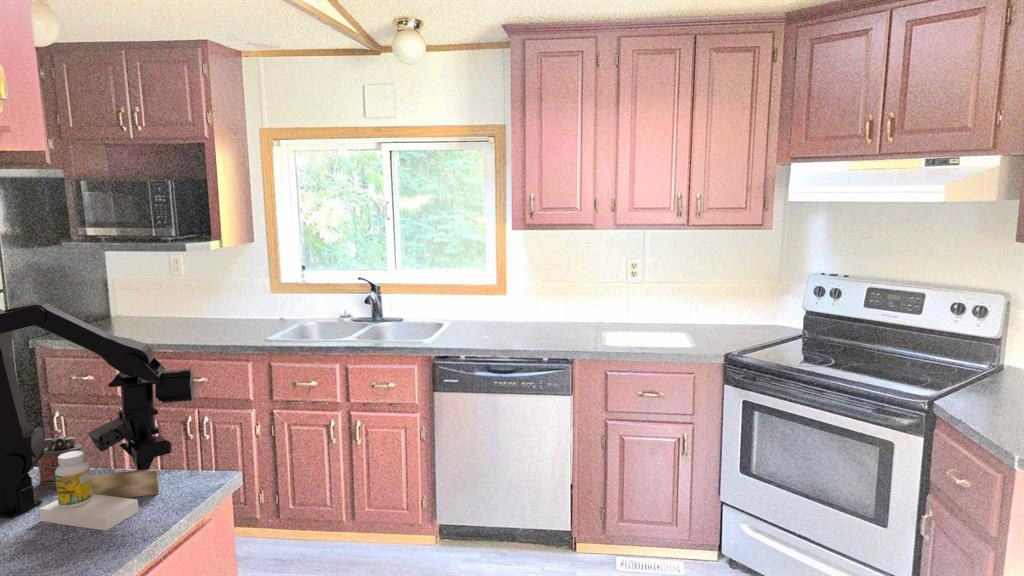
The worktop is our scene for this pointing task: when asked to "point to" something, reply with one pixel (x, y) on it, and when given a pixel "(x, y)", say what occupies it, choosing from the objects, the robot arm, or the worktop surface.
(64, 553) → the worktop surface
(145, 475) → the wooden board
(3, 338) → the robot arm
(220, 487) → the worktop surface
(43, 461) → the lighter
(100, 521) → the white slab
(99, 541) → the worktop surface
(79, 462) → the supplement bottle
